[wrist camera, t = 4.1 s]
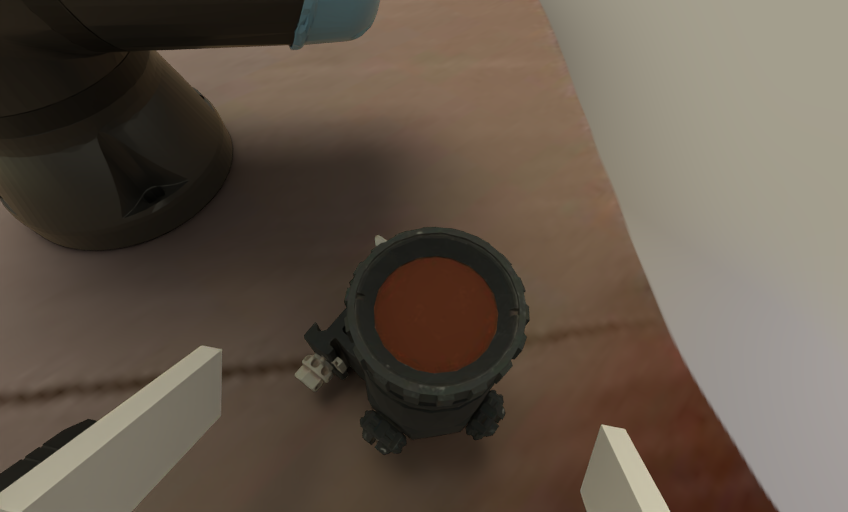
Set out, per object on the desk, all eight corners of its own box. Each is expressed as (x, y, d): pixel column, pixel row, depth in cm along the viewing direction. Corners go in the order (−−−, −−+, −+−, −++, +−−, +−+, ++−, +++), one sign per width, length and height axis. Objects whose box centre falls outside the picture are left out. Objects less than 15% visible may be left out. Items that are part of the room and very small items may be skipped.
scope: (366, 128, 15) (619, 270, 12) (386, 286, 27) (517, 375, 24) (186, 289, 12) (480, 531, 9) (300, 388, 24) (441, 504, 21)
